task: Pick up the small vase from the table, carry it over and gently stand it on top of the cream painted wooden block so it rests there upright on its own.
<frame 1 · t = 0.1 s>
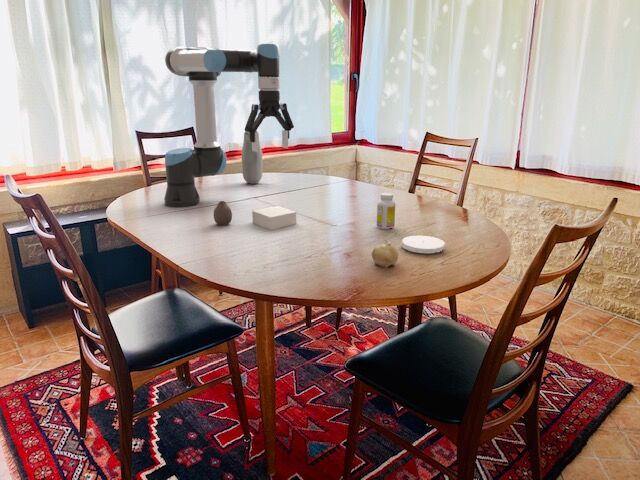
hand: (270, 149, 187), 28 cm above the table, tool pointing down, fingers open, 13 cm apart
riser block: (274, 223, 195), on the table
onion: (384, 265, 154), on the table
supplement bottle: (385, 227, 191), on the table
vase: (223, 224, 193), on the table
plastic lid: (422, 249, 168), on the table
grey-green rounded cylinder: (252, 183, 263), on the table
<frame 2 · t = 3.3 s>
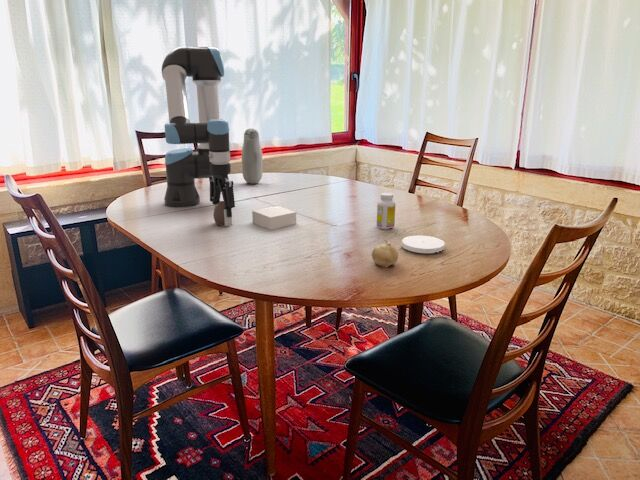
hand: (223, 222, 192), 1 cm above the table, tool pointing down, fingers closed on vase, 7 cm apart
vase: (223, 224, 193), on the table, touching gripper
everything else where it was.
when the fingers open (6 cm above the table, at t = 10.4 s): vase stays where it is, resting on riser block.
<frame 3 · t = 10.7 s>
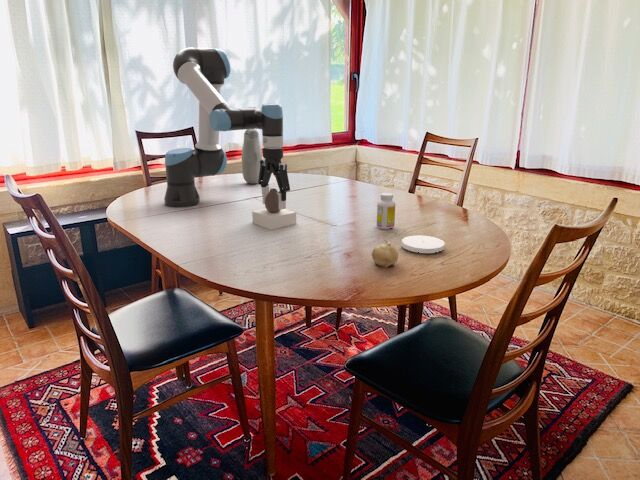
hand: (274, 206, 193), 7 cm above the table, tool pointing down, fingers open, 10 cm apart
riser block: (274, 224, 195), on the table, touching vase
vase: (274, 212, 193), point 4 cm above the table, touching riser block
everything else where it was.
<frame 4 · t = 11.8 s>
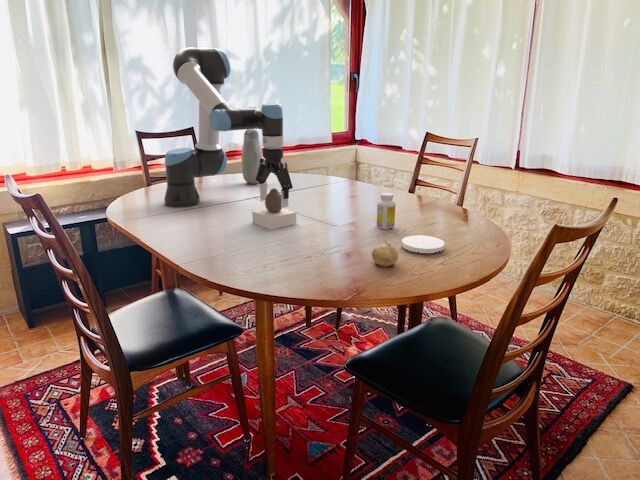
hand: (274, 203, 192), 8 cm above the table, tool pointing down, fingers open, 13 cm apart
nothing on the table moved.
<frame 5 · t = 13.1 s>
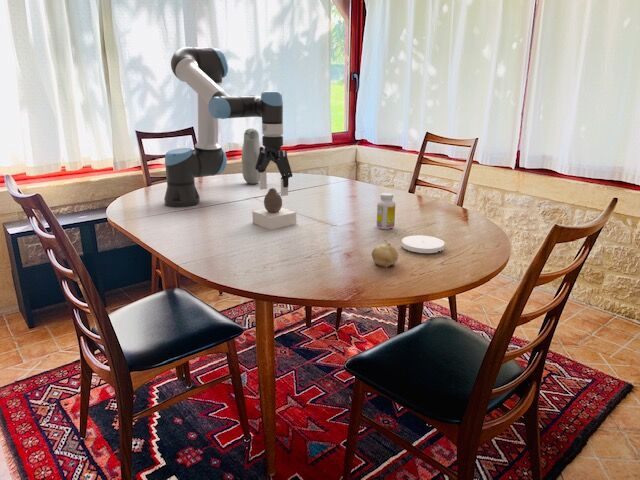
hand: (273, 192, 191), 12 cm above the table, tool pointing down, fingers open, 13 cm apart
nothing on the table moved.
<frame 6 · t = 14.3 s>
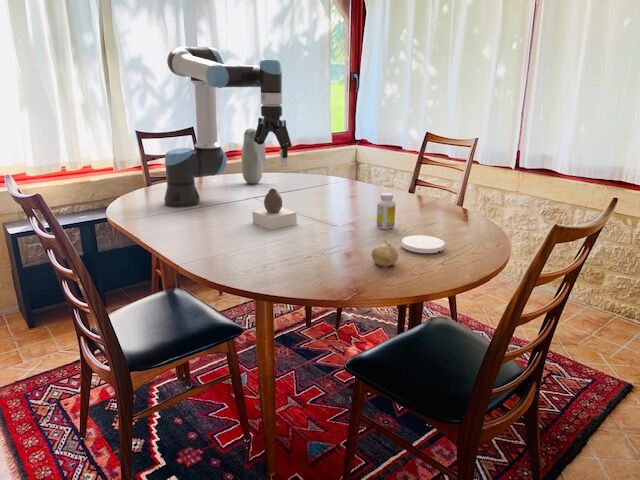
hand: (272, 164, 188), 23 cm above the table, tool pointing down, fingers open, 13 cm apart
nothing on the table moved.
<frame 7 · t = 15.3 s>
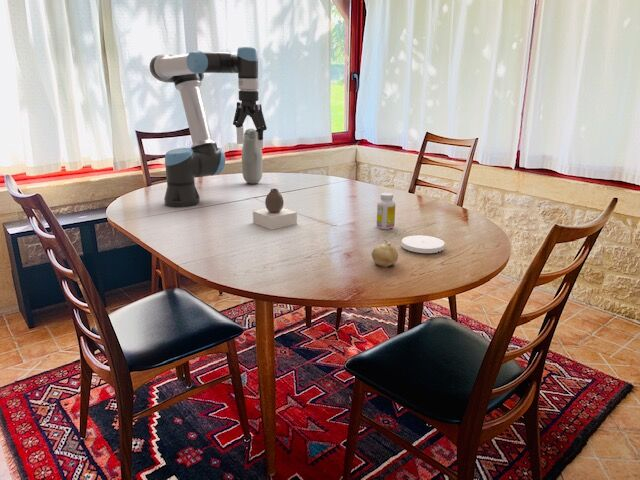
hand: (249, 146, 200), 27 cm above the table, tool pointing down, fingers open, 13 cm apart
riser block: (274, 224, 195), on the table
vase: (274, 212, 193), point 4 cm above the table
everything else where it was.
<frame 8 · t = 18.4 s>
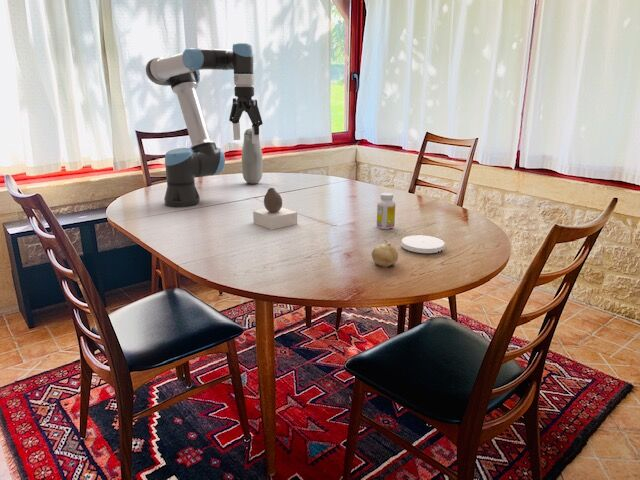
hand: (246, 141, 202), 29 cm above the table, tool pointing down, fingers open, 13 cm apart
riser block: (275, 224, 195), on the table, touching vase
vase: (274, 211, 193), point 5 cm above the table, touching riser block
everything else where it was.
at the end: vase inside the target area on the riser block (0.4 cm from its centre), point 5.1 cm above the riser block's base; vase tilted 6°; the gripper is holding nothing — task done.
